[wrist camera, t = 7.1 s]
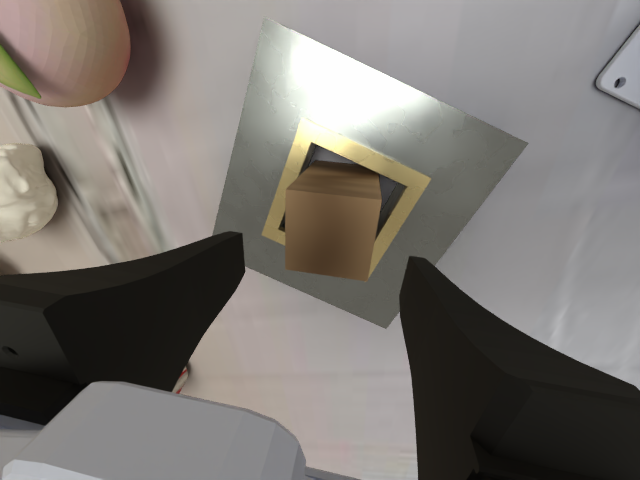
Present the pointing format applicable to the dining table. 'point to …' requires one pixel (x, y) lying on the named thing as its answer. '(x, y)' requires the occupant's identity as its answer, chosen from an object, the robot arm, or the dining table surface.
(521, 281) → the dining table surface
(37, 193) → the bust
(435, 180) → the grey socket base
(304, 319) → the dining table surface
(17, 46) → the decorative fruit
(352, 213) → the brown rectangular block
